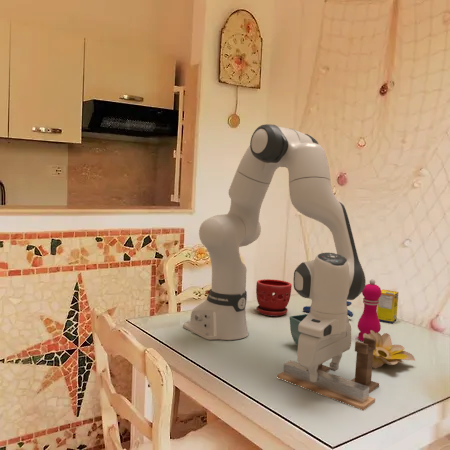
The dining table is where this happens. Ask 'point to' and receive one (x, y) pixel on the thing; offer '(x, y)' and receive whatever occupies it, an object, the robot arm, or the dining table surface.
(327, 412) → the dining table surface
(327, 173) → the robot arm
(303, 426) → the dining table surface
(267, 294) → the plant pot
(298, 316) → the flower pot
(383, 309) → the supplement box
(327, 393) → the light wood flat board
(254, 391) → the dining table surface
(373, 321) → the pepper mill
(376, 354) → the decorative flower
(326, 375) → the steel rail
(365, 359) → the walnut post
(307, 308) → the starfish
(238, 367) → the dining table surface
